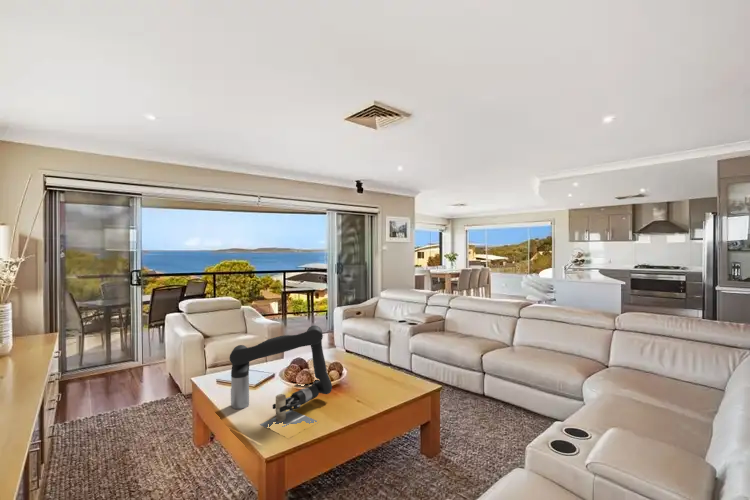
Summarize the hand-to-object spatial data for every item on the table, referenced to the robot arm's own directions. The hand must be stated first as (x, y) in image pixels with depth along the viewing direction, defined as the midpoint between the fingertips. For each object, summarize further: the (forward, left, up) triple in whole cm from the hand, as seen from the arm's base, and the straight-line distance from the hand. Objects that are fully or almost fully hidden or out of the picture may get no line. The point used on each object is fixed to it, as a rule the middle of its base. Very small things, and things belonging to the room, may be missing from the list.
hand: (276, 408), depth 190 cm
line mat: (+7, +3, -7) cm, 10 cm away
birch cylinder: (0, +3, -6) cm, 7 cm away
